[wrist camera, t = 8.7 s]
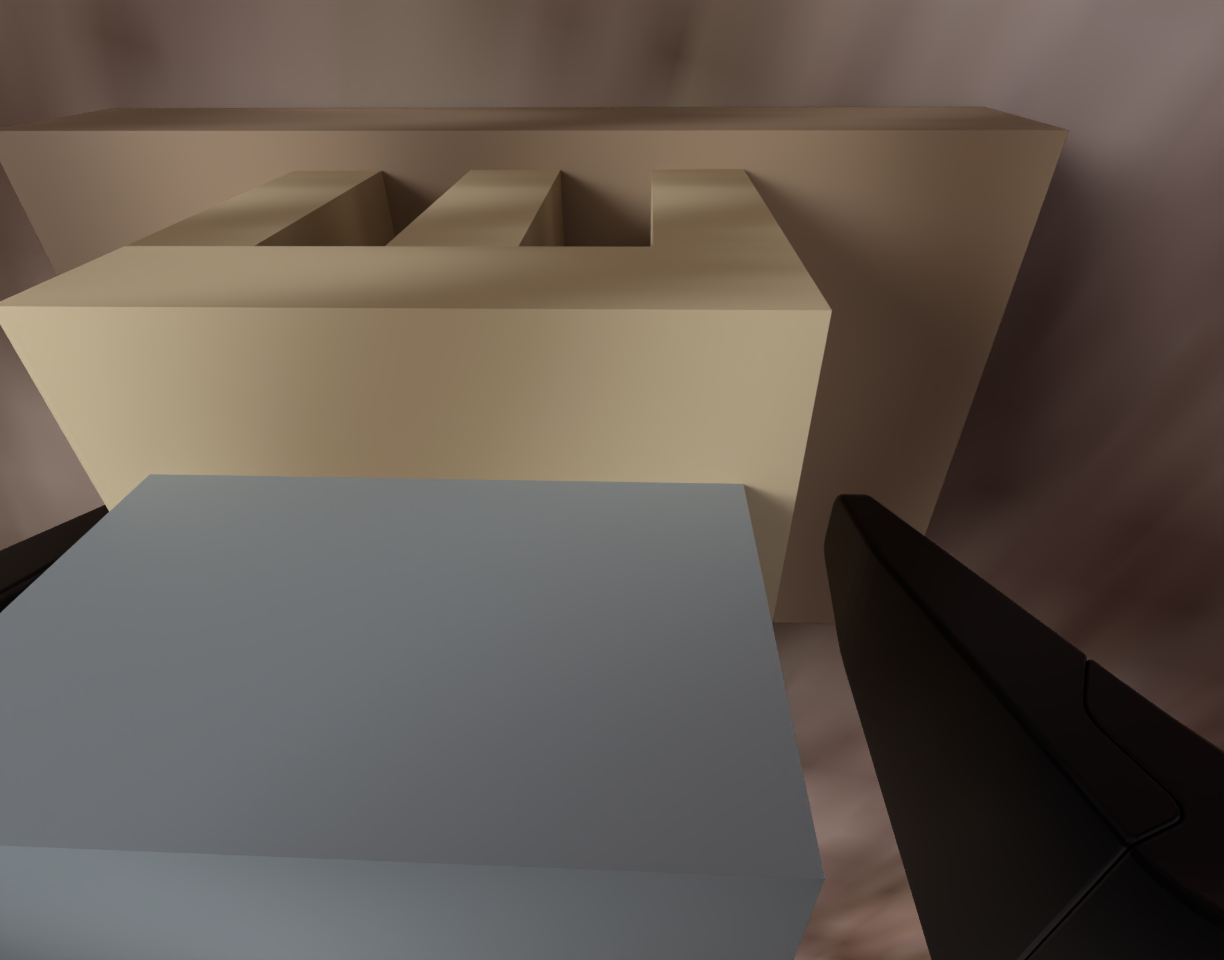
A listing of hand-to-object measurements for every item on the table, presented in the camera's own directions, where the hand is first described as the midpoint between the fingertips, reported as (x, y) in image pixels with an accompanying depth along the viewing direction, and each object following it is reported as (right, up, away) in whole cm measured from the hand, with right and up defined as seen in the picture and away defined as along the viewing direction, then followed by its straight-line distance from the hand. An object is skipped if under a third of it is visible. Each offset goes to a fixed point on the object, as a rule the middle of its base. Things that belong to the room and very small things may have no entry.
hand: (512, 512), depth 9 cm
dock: (0, +3, +4) cm, 5 cm away
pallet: (0, +1, +2) cm, 2 cm away
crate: (0, -2, -2) cm, 3 cm away
